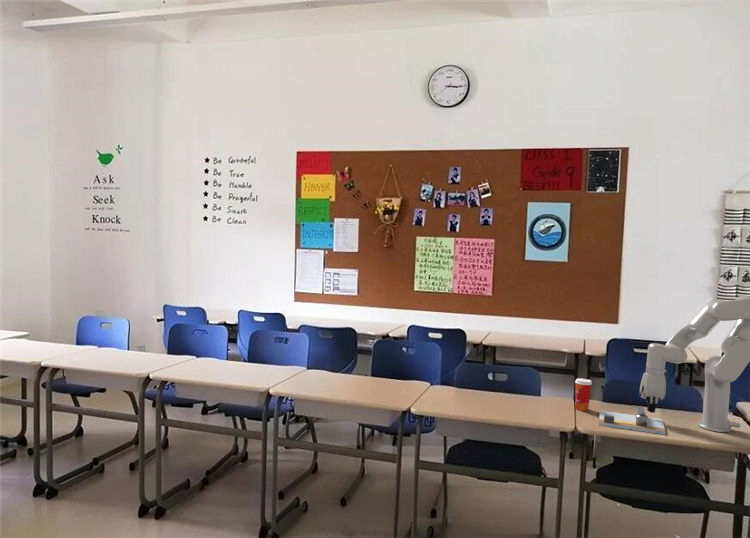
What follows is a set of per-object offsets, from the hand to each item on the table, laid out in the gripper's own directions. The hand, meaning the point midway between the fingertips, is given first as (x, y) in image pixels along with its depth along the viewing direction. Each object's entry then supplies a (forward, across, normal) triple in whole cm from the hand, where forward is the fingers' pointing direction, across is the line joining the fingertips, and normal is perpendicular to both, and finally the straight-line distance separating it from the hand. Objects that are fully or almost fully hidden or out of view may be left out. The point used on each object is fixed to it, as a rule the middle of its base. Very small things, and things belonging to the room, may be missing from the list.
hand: (651, 411), depth 264 cm
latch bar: (+3, +7, +3) cm, 8 cm away
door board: (+5, +11, +3) cm, 12 cm away
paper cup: (+5, +23, -18) cm, 30 cm away
